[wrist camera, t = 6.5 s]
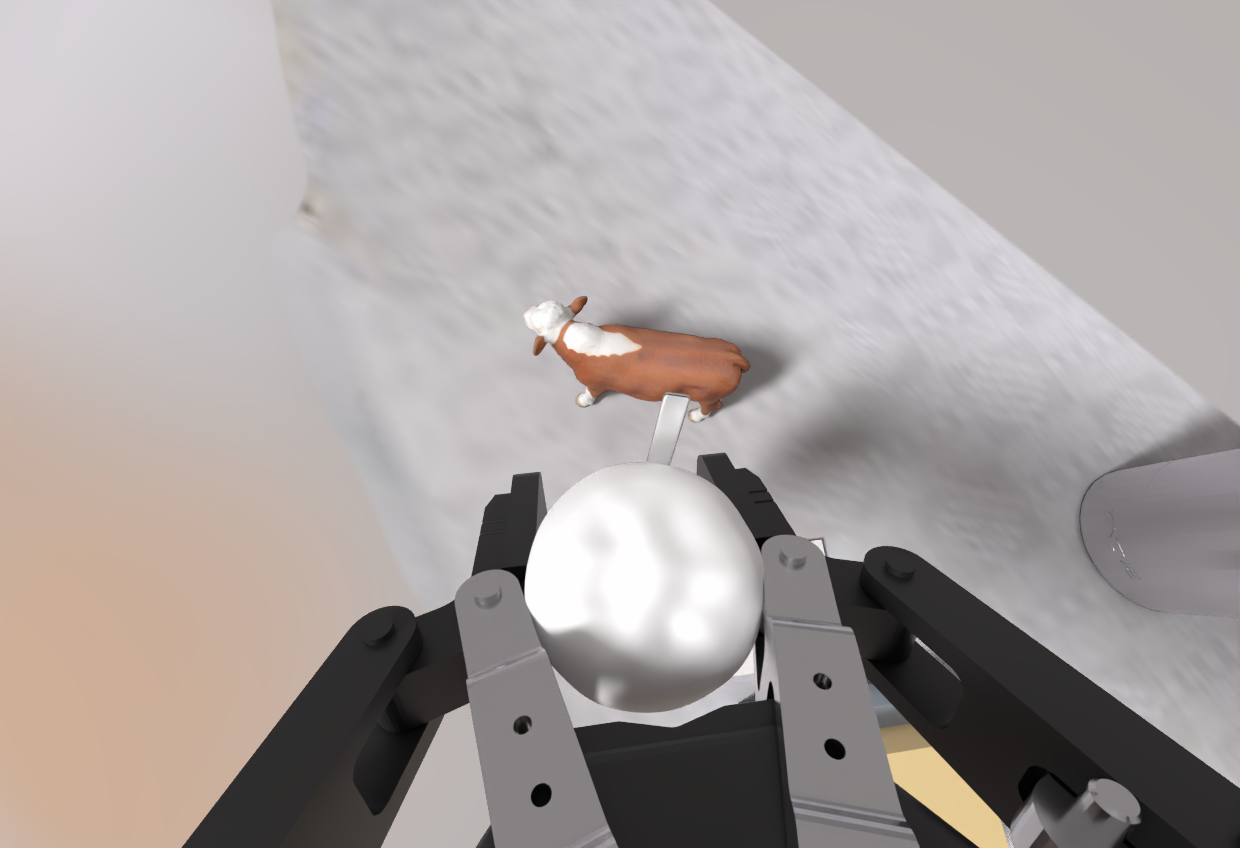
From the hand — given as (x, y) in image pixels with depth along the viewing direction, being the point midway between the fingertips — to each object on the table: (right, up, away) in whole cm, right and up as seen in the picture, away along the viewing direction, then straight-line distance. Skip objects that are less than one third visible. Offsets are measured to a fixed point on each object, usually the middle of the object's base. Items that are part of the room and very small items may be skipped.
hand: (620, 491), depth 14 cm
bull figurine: (+1, +4, +20) cm, 21 cm away
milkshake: (0, -3, +4) cm, 5 cm away
